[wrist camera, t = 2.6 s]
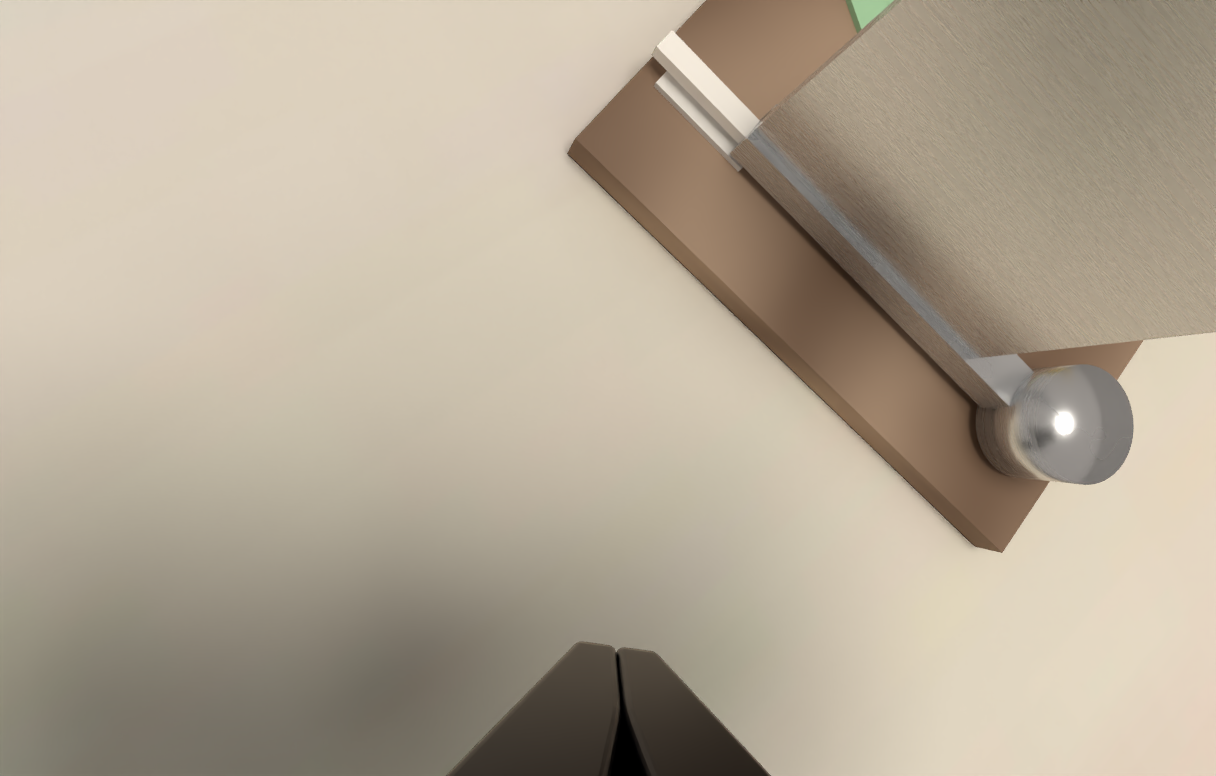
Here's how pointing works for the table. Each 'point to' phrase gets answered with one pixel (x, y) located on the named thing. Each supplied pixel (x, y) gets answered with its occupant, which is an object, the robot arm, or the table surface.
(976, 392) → the lever
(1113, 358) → the board
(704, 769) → the robot arm
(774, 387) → the table surface
